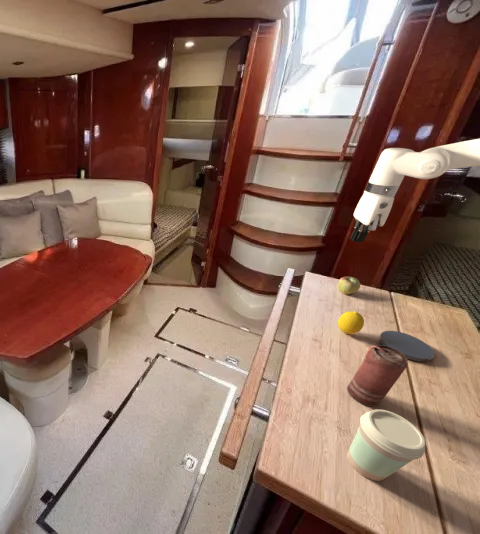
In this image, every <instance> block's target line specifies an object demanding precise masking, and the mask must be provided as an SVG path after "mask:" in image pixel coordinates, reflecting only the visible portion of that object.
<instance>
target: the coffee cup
mask: <svg viewBox="0 0 480 534" xmlns="http://www.w3.org/2000/svg"><path fill="white" fill-rule="evenodd" d="M359 422H360V424H359V426H358V428H357V431H356V433H355V435H354V437H353V440H352V441H351V444H350V447H349V449H348V451H347V454H346V456H347V457H346V458H347V461H348V463H349V464H350V466H351V467H352V468H353V469H354V470H355V471H356V472H357V473H358V474H360V475H361V476H363V477H365V478H367V479H369V480H371V481H375V482H381V481H383V480H385V479H386V478H388V477H390V476H391V475H393V474H394V473H396V472H397V471H399V470H400V469H402V468H403V467H405V466H406V465H408V464H409V463H411V462H412V461H413V460H419V459H421V458H422V457H423V456H424V454H425V451H426V439H425V437H424V435H423V434H422V432H421V431H420V429H418V428H417V426H415V425H414V423H412V422H411V421H409V420H407V418H404V417H403V416H401V415H399V414H397V413H395V412H393V411H389V410H387V409H386V410H385V409H373V410H370V411H366V412H365V413H364V414H362V415H361V416H360V418H359Z"/></svg>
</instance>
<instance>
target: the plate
mask: <svg viewBox="0 0 480 534" xmlns="http://www.w3.org/2000/svg"><path fill="white" fill-rule="evenodd" d="M378 340H379V342H380V344H381V345H382V346H387V347H391V348H393V349H396V350H397V351H399V352H401V353H402V354H403V355H405V357H406V358H407V360H412V361H415V362H429V361H432V360H433V358H434V357H435V351H434V350H433V348H432V347H431V346H430V345H429V344H427V343H426V342H424V341H423V340H422V339H420V338H418V337H415V336H413V335H410V334H408V333H405V332H402V331H396V330H385V331H382V332H381V333H380V334H379V336H378Z"/></svg>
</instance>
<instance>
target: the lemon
mask: <svg viewBox="0 0 480 534" xmlns="http://www.w3.org/2000/svg"><path fill="white" fill-rule="evenodd" d="M364 324H365V319H364V317H363V316H362V315H361V314H360V313H359V312H358V311H355V310H354V311H352V310H350V311H345V312H343V313H342V314H341V315H340V316H339V318H338V319H337V327H338V329H339V330H340V331H341V332H343V334H345V335H346V334H348V335H355V334H357V333H359V332H360V331H362V329H363V327H364Z"/></svg>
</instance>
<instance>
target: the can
mask: <svg viewBox="0 0 480 534" xmlns="http://www.w3.org/2000/svg"><path fill="white" fill-rule="evenodd" d="M408 360H409V359H407V358H406V357H405V355H403V354H402V353H401V352H399V351H397V350H396V349H393V348H391V347H387V346H384V345H383V344H380V345H372V346H370V347H369V349H368V350H367V351H366V353H365V357H364V359H363V361H362V362H361V364H360V366H358V369H357V371H356V372H355V374H354V375H353V377H352V378H351V380H350V381H349V383H348V385H347V387H346V389H347V393H348V394H349V396H350V397H351V398H352V399H353V400H354V401H356V402H357V403H359V404H361V405H364V406H368V407H375V406H376V407H377V406H379V405H380V404H381V402H382V401H383V400H384V399H385V397H386V396H387V394H389V392H390V391H391V389H392V388H393V386H394V385H395V384H396V382H398V380H399V378H400V377H401V376H402V374H403V373H404V372H405V370H406V369H407V368H408Z"/></svg>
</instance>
